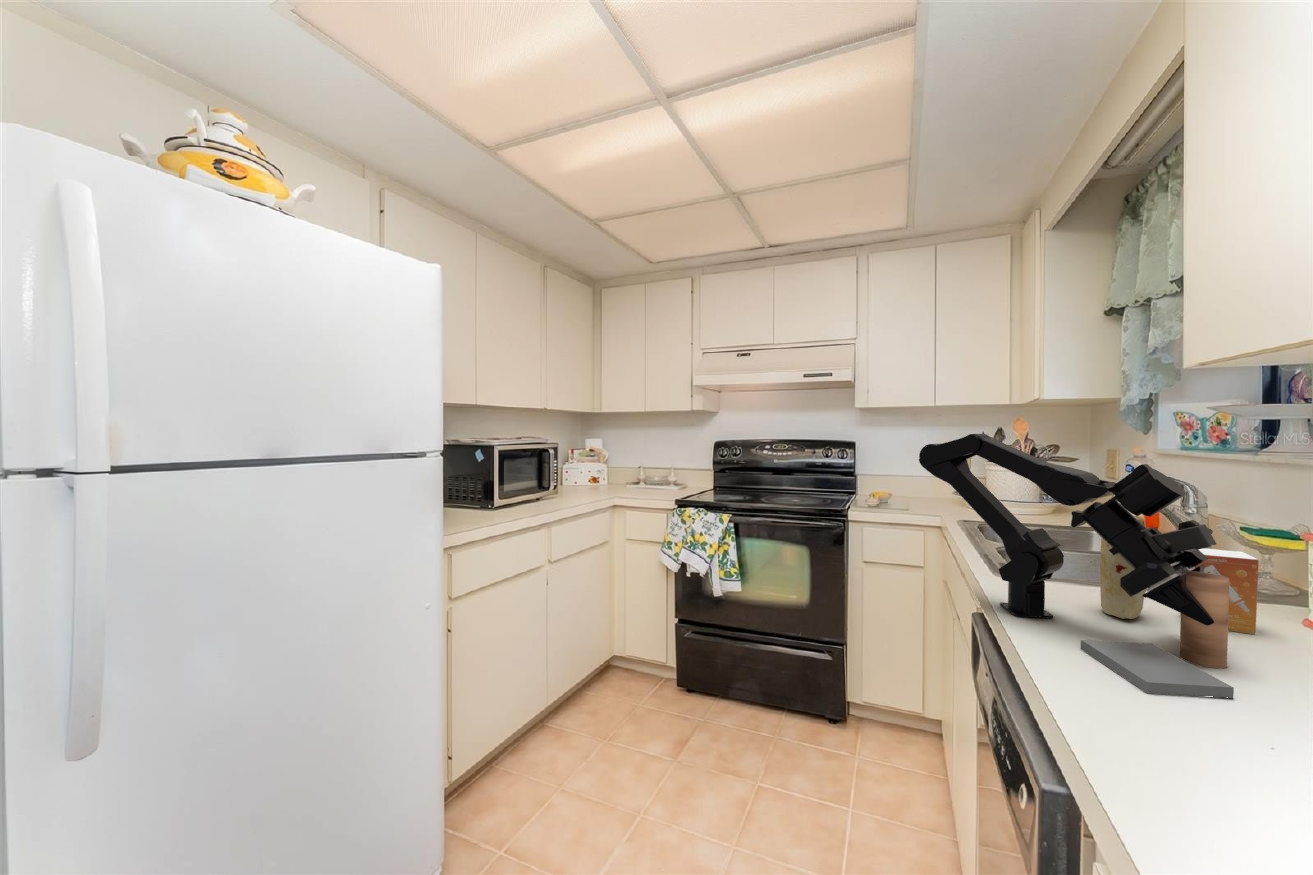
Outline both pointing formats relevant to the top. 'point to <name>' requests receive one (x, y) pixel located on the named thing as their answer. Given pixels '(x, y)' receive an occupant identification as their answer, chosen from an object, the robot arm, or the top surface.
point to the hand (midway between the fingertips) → (1217, 620)
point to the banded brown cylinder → (1204, 640)
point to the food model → (1117, 583)
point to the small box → (1236, 585)
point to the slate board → (1155, 669)
